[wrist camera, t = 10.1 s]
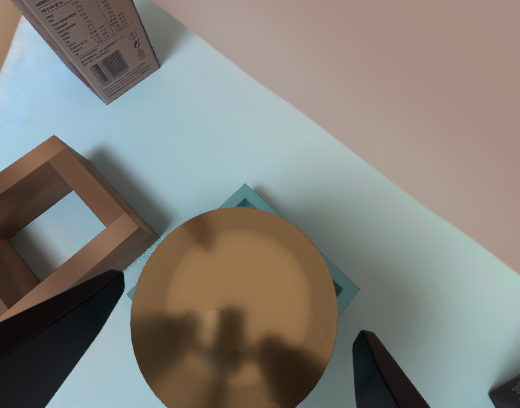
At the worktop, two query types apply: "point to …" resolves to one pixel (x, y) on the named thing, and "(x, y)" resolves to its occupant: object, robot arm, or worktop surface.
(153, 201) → the worktop surface
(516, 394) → the box
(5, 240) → the brown square frame
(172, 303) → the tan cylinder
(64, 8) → the juice carton
